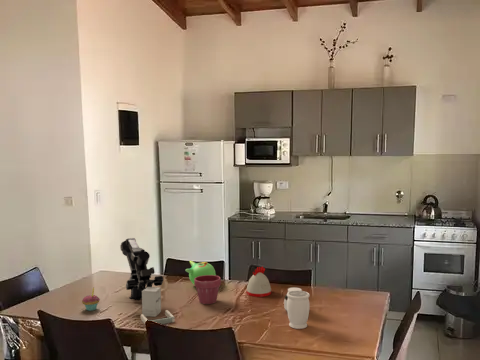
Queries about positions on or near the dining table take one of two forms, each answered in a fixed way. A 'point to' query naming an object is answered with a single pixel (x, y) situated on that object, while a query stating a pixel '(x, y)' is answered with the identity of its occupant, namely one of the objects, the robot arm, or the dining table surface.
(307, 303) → the jar
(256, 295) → the chicken egg cooker
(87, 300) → the cupcake
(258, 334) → the dining table surface
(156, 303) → the supplement box
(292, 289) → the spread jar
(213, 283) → the plant pot
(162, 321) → the bay
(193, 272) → the toy bird
